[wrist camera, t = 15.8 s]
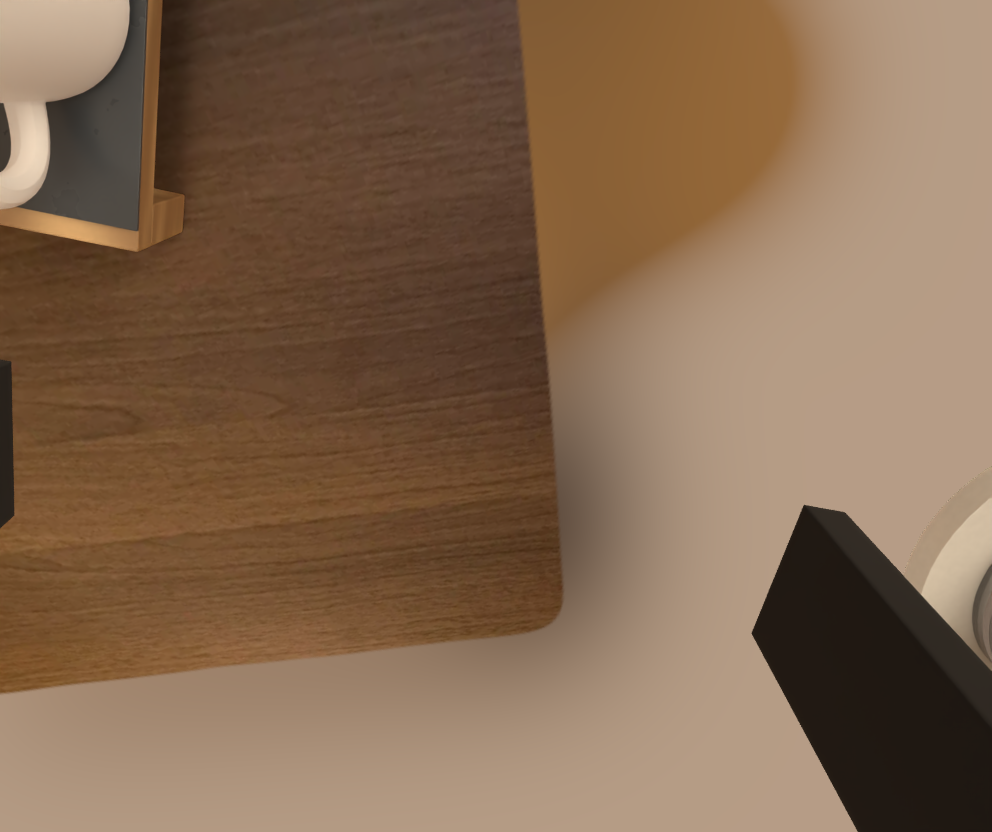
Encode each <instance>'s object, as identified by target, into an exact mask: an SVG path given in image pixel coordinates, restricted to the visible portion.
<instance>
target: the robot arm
mask: <svg viewBox="0 0 992 832" xmlns="http://www.w3.org/2000/svg"><path fill="white" fill-rule="evenodd" d="M13 516H14V473H13V424H12V374H11V361H5V360H0V528H1V527H2V526H3V525H4V524H5V523H6V522H8V521H9V520H10V519H11V518H12V517H13ZM972 625H973V632H974V636H975V639H976V641H977V644H978V646H979V648H980V649H981V651H982V653H983V654H984V655H985V656H986V658H987V659H988V660H989V661H990V662H991V663H992V564H991V566H990V567H989V568H988V570H987V572H986V573H985V575H984V577H983V579H982V581H981V583H980V585H979V587H978V590H977V593H976V596H975V600H974V604H973V611H972ZM752 635H753V637H754V639H755V641H756V642H757V645H758V646H759V648H760V650H761V652H762V654H763V656H764V658H765V659H766V661H767V663H768V665H769V667H770V669H771V671H772V672H773V674H774V676H775V678H776V680H777V682H778V684H779V686H780V687H781V689H782V691H783V693H784V695H785V697H786V699H787V700H788V702H789V704H790V706H791V708H792V710H793V712H794V714H795V715H796V717H797V719H798V721H799V723H800V725H801V727H802V728H803V730H804V732H805V734H806V736H807V738H808V740H809V741H810V743H811V745H812V747H813V749H814V751H815V753H816V755H817V756H818V758H819V760H820V762H821V764H822V766H823V768H824V770H825V771H826V773H827V775H828V777H829V779H830V781H831V782H832V784H833V786H834V788H835V790H836V792H837V794H838V796H839V797H840V799H841V801H842V803H843V805H844V807H845V809H846V811H847V812H848V814H849V816H850V818H851V820H852V821H853V824H854V825H855V827H856V829H857V831H858V832H992V671H991V670H990V669H989V668H988V666H987V665H986V664H985V663H984V662H983V661H982V660H981V659H980V658H979V657H978V656H977V655H976V654H975V652H974V651H973V650H972V649H971V648H970V647H969V646H968V645H967V644H966V643H965V642H964V641H963V639H962V638H961V637H960V636H959V635H958V634H957V633H956V632H955V631H954V630H953V629H952V628H951V626H950V625H949V624H948V623H947V622H946V621H945V620H944V619H943V618H942V617H941V616H940V615H939V614H938V612H937V611H936V610H935V609H934V608H933V607H932V606H931V605H930V604H929V603H928V602H927V601H926V599H925V598H924V597H923V596H922V595H921V594H920V593H919V592H918V591H917V590H916V589H915V588H914V587H913V585H912V584H911V583H910V582H909V581H908V580H907V579H906V578H905V577H904V576H903V575H902V574H901V572H900V571H899V570H898V569H897V568H896V567H895V566H894V565H893V564H892V563H891V562H890V561H889V559H887V557H886V556H885V555H884V554H883V553H882V552H881V551H880V550H879V549H878V548H877V547H876V545H875V544H874V543H872V541H871V540H870V539H869V538H868V537H867V536H866V535H865V534H864V532H863V531H862V530H861V529H860V528H859V527H858V526H857V525H856V524H855V523H854V522H853V521H852V519H851V518H850V517H849V516H848V515H847V514H846V513H845V512H840V511H835V510H829V509H823V508H818V507H812V506H806V505H804V506H803V508H802V511H801V513H800V516H799V518H798V521H797V523H796V525H795V528H794V530H793V533H792V536H791V538H790V540H789V543H788V545H787V548H786V550H785V553H784V555H783V557H782V560H781V562H780V565H779V568H778V570H777V572H776V575H775V577H774V579H773V582H772V584H771V587H770V589H769V592H768V594H767V597H766V599H765V602H764V604H763V607H762V609H761V611H760V614H759V616H758V619H757V621H756V624H755V626H754V629H753V631H752Z"/></svg>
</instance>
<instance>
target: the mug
mask: <svg viewBox="0 0 992 832" xmlns="http://www.w3.org/2000/svg"><path fill="white" fill-rule="evenodd" d="M129 11H130V6H129V0H0V103H4V107H5V111H6V115H7V119H8V124H9V129H10V137H11V155H10V159H9V162H8V164H7V166H6V168H5V169H4V170H3V171H1V172H0V210H1V209H9V208H13V207H17V206H19V205H22V204H24V203H26V202H27V201H28V200H29V199H31V198H32V197H33V196H34V195H35V194H36V193H37V192H38V190H39V189H40V188H41V186H42V184H43V182H44V180H45V178H46V174H47V170H48V166H49V159H50V131H49V123H48V116H47V110H46V104H45V103H46V102H51V101H58V100H62V99H67V98H70V97H73V96H75V95H78V94H81V93H83V92H85V91H87V90H89V89H90V88H92V87H94V86H95V85H96V84H98V83H99V82H100V81H101V80H103V79H104V77H105V76H106V75H107V74H108V73H109V72H110V71H111V70H112V68H113V66H114V65H115V63H116V62H117V60H118V58H119V56H120V54H121V52H122V50H123V47H124V44H125V41H126V37H127V33H128V26H129Z"/></svg>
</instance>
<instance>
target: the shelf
mask: <svg viewBox="0 0 992 832" xmlns="http://www.w3.org/2000/svg"><path fill="white" fill-rule="evenodd" d="M162 1H163V0H129V6H130V11H129V26H128V33H127V37H126V41H125V44H124V47H123V50H122V52H121V54H120V56H119V58H118V60H117V62H116V63H115V65H114V66H113V68H112V70H111V71H110V72H109V73H108V74H107V75H106V76H105V77H104V79H103V80H101V81H100V82H99V83H98V84H96V85H95V86H94V87H92V88H90V89H89V90H87V91H85V92H83V93H81V94H78V95H75V96H73V97H70V98H67V99H62V100H58V101H51V102H46V103H45V104H46V110H47V116H48V123H49V131H50V159H49V166H48V170H47V174H46V178H45V180H44V182H43V184H42V186H41V188H40V189H39V190H38V192H37V193H36V194H35V195H34V196H33V197H32V198H31V199H29V200H28V201H27V202H26V203H24V204H22V205H19V206H17V207H13V208H9V209H1V210H0V225H4V226H9V227H14V228H19V229H24V230H29V231H34V232H39V233H44V234H49V235H54V236H59V237H64V238H69V239H74V240H79V241H84V242H89V243H94V244H99V245H104V246H109V247H115V248H120V249H125V250H130V251H135V252H139V251H141V250H143V249H146V248H148V247H150V246H152V245H154V244H156V243H159V242H161V241H163V240H166V239H168V238H170V237H172V236H175V235H177V234H179V233H181V232H182V231H183V216H184V200H185V196H184V195H183V194H179V193H174V192H169V191H165V190H160V189H155V188H154V171H155V149H156V128H157V107H158V86H159V65H160V43H161V22H162ZM10 155H11V137H10V129H9V124H8V119H7V115H6V111H5V107H4V103H0V172H1V171H3V170H4V169H5V168H6V166H7V164H8V162H9V159H10Z"/></svg>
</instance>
